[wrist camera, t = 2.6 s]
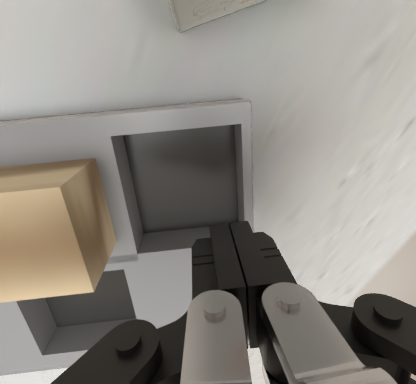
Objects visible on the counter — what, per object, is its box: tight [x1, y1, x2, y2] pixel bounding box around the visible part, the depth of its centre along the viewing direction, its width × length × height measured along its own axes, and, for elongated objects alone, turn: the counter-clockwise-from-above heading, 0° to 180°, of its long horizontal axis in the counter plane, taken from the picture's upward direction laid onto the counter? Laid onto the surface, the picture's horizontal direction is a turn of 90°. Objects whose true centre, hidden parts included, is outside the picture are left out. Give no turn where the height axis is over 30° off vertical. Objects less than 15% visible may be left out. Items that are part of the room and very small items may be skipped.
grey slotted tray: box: [0, 99, 253, 376], centre depth 16 cm, size 17×22×4 cm
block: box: [0, 158, 117, 303], centre depth 12 cm, size 5×5×4 cm
